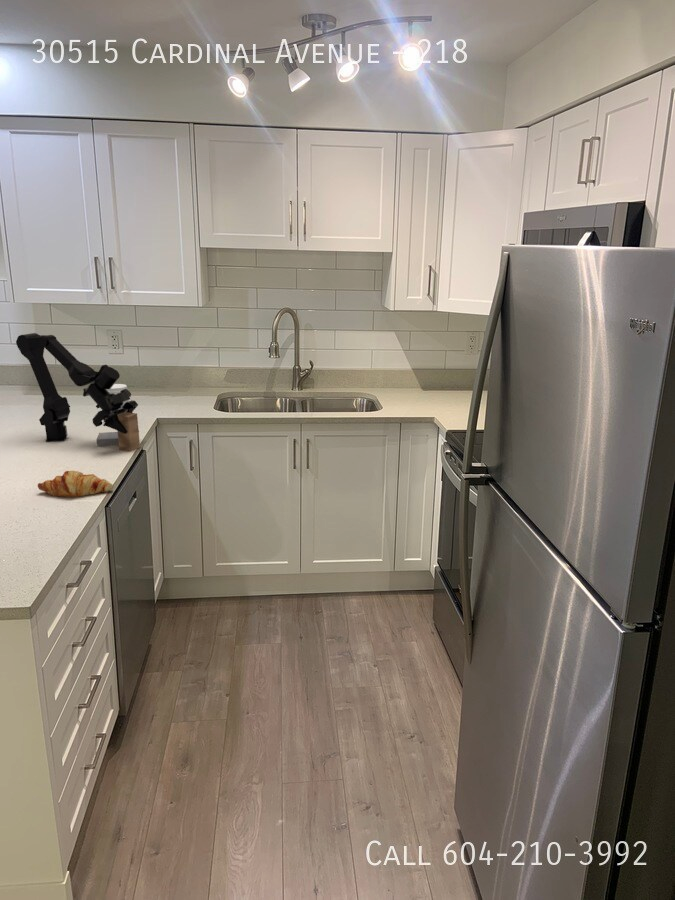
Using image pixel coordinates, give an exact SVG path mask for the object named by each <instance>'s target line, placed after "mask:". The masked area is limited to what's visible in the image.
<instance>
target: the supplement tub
mask: <svg viewBox="0 0 675 900" xmlns="http://www.w3.org/2000/svg"><path fill="white" fill-rule="evenodd" d="M123 389H127V390H128V386H127V384H124V383H123V384H122V383H115V384H114V385H113V386H112V387H111V388H110V389H106V390H107V391H108V392H109V393H110V394H112V393H113V394H115V395H116V394H118V393H121V390H123ZM128 401H129V400H126V401H124V402H123V403H124V404H125V403H126V402H128ZM124 404H123V405H124ZM123 405H122V406H123ZM122 406H121V408H122ZM118 415H119V414H118Z"/></svg>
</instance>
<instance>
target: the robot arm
mask: <svg viewBox="0 0 675 900" xmlns="http://www.w3.org/2000/svg"><path fill="white" fill-rule="evenodd" d="M15 344H16V347H17V348H18V350H19V353H20V354H21V355H22V356H23V357H25V358H26V359H27V360H28V362H29V364H30V366H31V369H32V372H33V375H34V377H35V379H36V383H37V384H38V386H39V389H40V391H41V393H42V397H43V403H42V408H43V412H44V413H43V414H42V416H41V417H40V418H39V420H38V421H39V423H40V425H41V426H44V427H45V428H44V430H45V437H46V439H45V442H63V441H66V439H67V438H68V428H67V425H65V423H66V422H68V420H69V416H70V413H71V406H70V404H69V402H68V398H67V397H66V396H63V397H62V396H61V395H60V394H59V393H58V390H57V387H56V385H55V383H54V380H53V378H52V374H51V372H50V370H49V367H48V365H47V363H46V360H45V357H44V353H45V349H46V350H47V352H49V354H50V355H52V356H53V357H54V359H56V361H57V362H58V363H60V364H61V365H62V366H63V367H64V368H65V369H66V371H67V373H68V376H69V378H70V379H71V381H72V382H73V384H74V385H76V386H77V387H84V388H83V392H82V397H88V396H89V397H90V398H91V399H92V400H93V401H94V403H96V406H95V408H96V409H100V410H99V411H97V413H96V414H95V415H94V416H93V418H92V424H93V425H94V426H95V428H96V427H100V426H102V425H103V426H104V427H107V428H110V429H113V430H115V431H116V432H118V431H120V432H122V433H124V434H126V433H127V430H126V429H125V427H124V426H123V425H122V424H121V422H120V421H119V420H118V414H122V413H124V412H128V413H134V410H136V409H137V408H138V406H139V404H138V403H137V402H136V400H133V399H131V397H132V392H131V391H130V390H129V389H128V388H127V389H123V390H121V393H118V394H116V395H115V394H113V393H112V394H110V393H109V392H108V391H107V390H106V389H110V388H111V387H112V386H113V385H114V384H116V382H117V381H118V380H119V379H120V377H121V376H120V373H119V371H118V370H117V369H115V368H114V367H111V366H108V365H107V364H103V365H101V367H100V368H99V370H98V371H95V369H94V368H92V367H91V366H89V365H88V364H86V363H84V362H81V361H80V360H78V359H77V358H76V357H75V356H74V355H73V354H72V352H70V351H69V350H68V349H67V348H66V347H65V346H64V345H63V344H62V343H61V342H60V341H59V340H58V339H57V337H56V336H55V335H52V334H47V335H46V334H45V335H44V334H43V335H40V334H38V333H36V332H31V333H25V334H20V335H18V336H17V338H16V341H15ZM85 386H87V387H86V388H85ZM126 400H128V402H126V403H125V404H124V403H123V402H124V401H126ZM123 404H124V405H123ZM122 405H123V406H122ZM121 406H122V408H121ZM103 423H104V424H103Z"/></svg>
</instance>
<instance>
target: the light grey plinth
mask: <svg viewBox="0 0 675 900" xmlns="http://www.w3.org/2000/svg"><path fill="white" fill-rule="evenodd" d="M107 446H119V441H118V431H111V432H110V431H109V432H107V431H106V432H98V434H97V437H96V447H107Z"/></svg>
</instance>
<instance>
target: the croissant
mask: <svg viewBox="0 0 675 900" xmlns="http://www.w3.org/2000/svg"><path fill="white" fill-rule="evenodd" d="M37 488H38V490H40V491H43V492H45V493H47V494H49V495H50V496H53V497H55V496H57V497H63V498H68V497H71V498H72V497H73V498H74V497H75V498H76V497H77V498H78V497H83V496H88V495H95V494H100V493H107V492H110V491H111V490H113V489H114V484H113V483H111V482H109V481H108V480H107V479H105V478H102V479H101V478H100V477H98V476H97V475H95V474H94V473H92V474H89V473H88V474H84V473H83V472H81V471H79V470H65V471H64V472H63V474H62V475H57V476H55V477H54V478H53V479H47V480H45V481H44V482H38V483H37Z"/></svg>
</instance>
